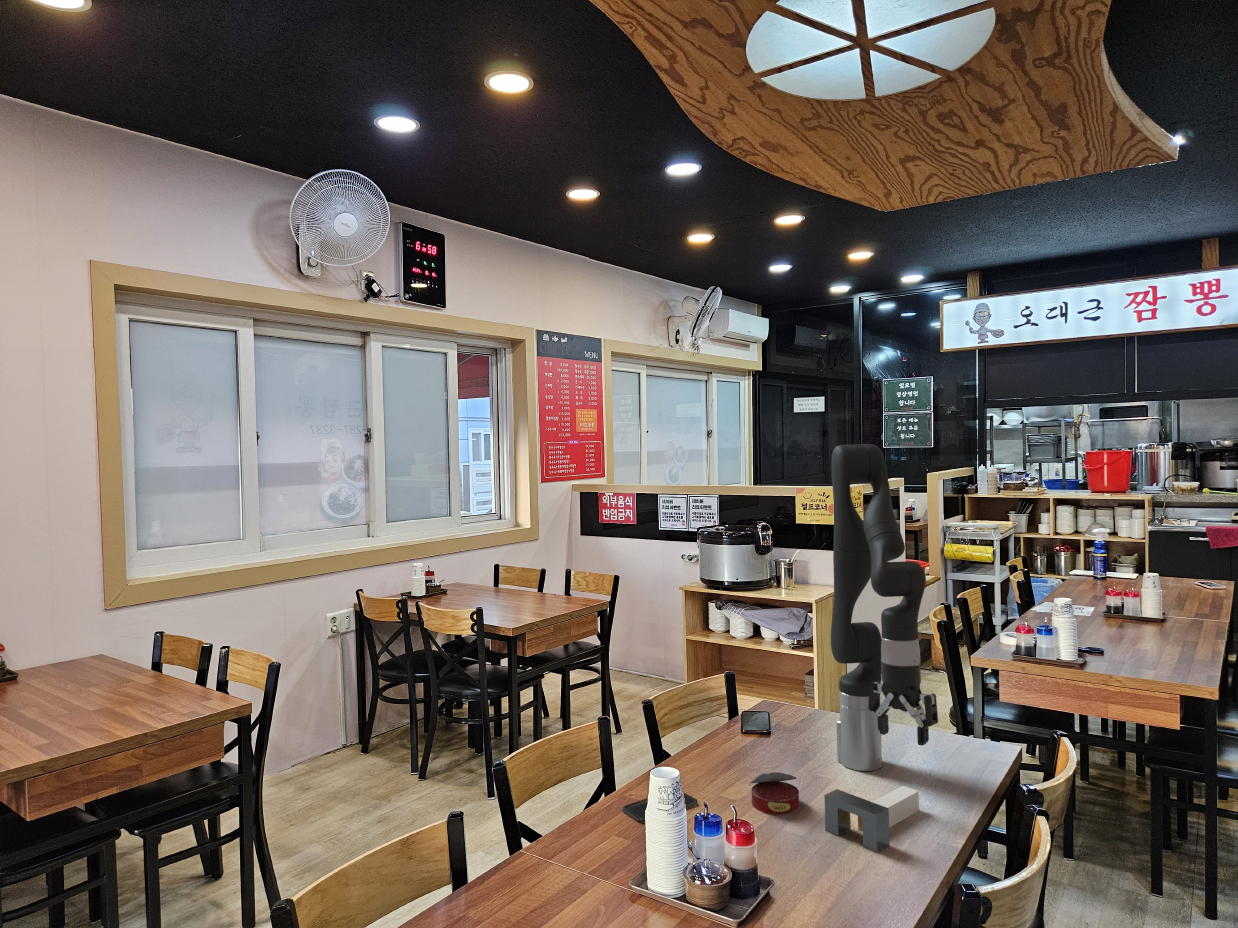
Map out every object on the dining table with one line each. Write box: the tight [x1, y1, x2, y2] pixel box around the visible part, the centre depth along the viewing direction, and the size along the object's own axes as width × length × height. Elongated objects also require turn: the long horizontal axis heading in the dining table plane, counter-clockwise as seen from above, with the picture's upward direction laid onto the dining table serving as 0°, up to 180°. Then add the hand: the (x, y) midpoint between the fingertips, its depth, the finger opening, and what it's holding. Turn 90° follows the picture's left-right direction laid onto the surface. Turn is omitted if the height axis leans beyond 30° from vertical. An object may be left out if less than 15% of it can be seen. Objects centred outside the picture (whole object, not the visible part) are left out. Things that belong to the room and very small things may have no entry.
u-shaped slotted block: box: [824, 788, 891, 853], centre depth 150 cm, size 12×4×7 cm, turn 39°
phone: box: [622, 792, 698, 824], centre depth 166 cm, size 8×1×15 cm
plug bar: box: [857, 785, 920, 833], centre depth 157 cm, size 4×16×4 cm, turn 129°
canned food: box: [749, 771, 800, 816], centre depth 166 cm, size 11×10×10 cm
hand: (903, 738), depth 161 cm, fingers open, 8 cm apart
